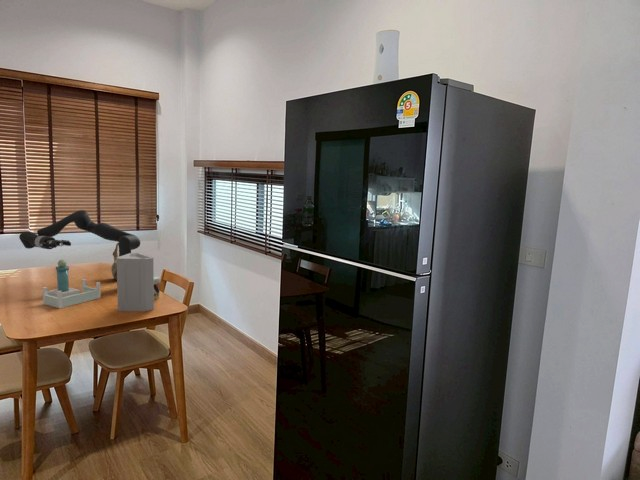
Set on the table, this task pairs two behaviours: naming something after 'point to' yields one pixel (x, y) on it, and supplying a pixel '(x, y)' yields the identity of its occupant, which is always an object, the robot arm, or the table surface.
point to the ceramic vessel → (115, 263)
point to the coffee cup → (156, 287)
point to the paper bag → (135, 282)
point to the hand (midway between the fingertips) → (63, 244)
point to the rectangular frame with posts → (72, 296)
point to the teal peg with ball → (62, 276)
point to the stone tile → (64, 294)
